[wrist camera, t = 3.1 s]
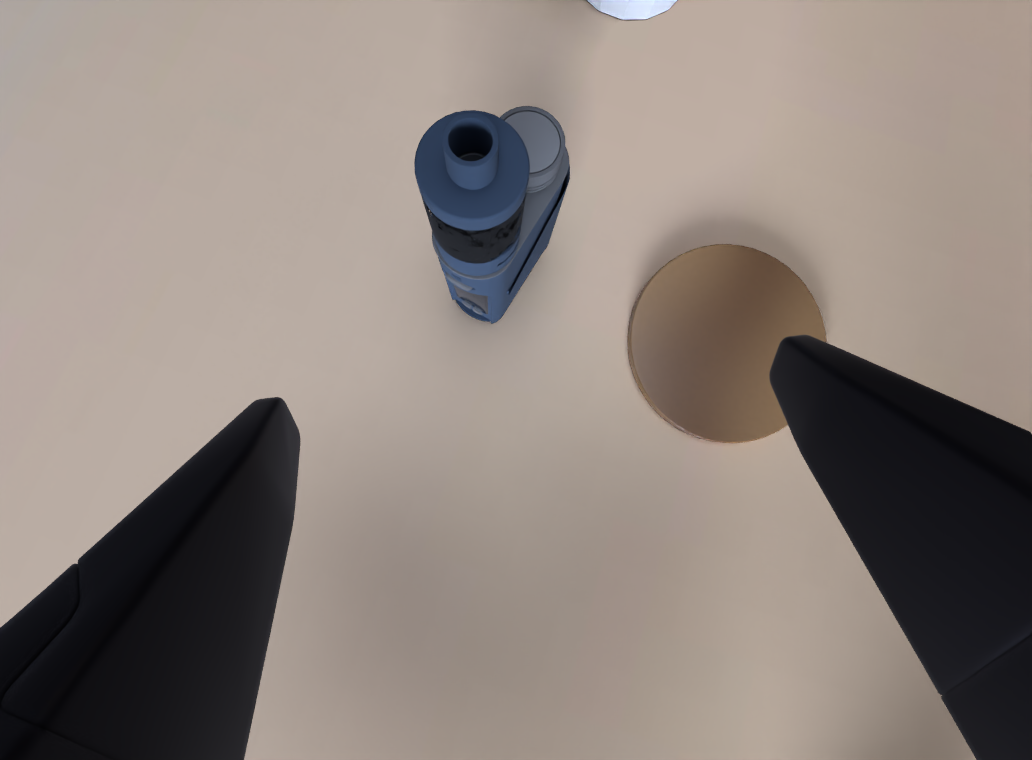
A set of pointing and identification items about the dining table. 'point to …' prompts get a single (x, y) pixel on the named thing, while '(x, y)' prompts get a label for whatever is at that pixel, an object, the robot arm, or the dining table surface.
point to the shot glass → (632, 8)
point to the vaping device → (491, 200)
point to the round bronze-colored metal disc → (718, 340)
